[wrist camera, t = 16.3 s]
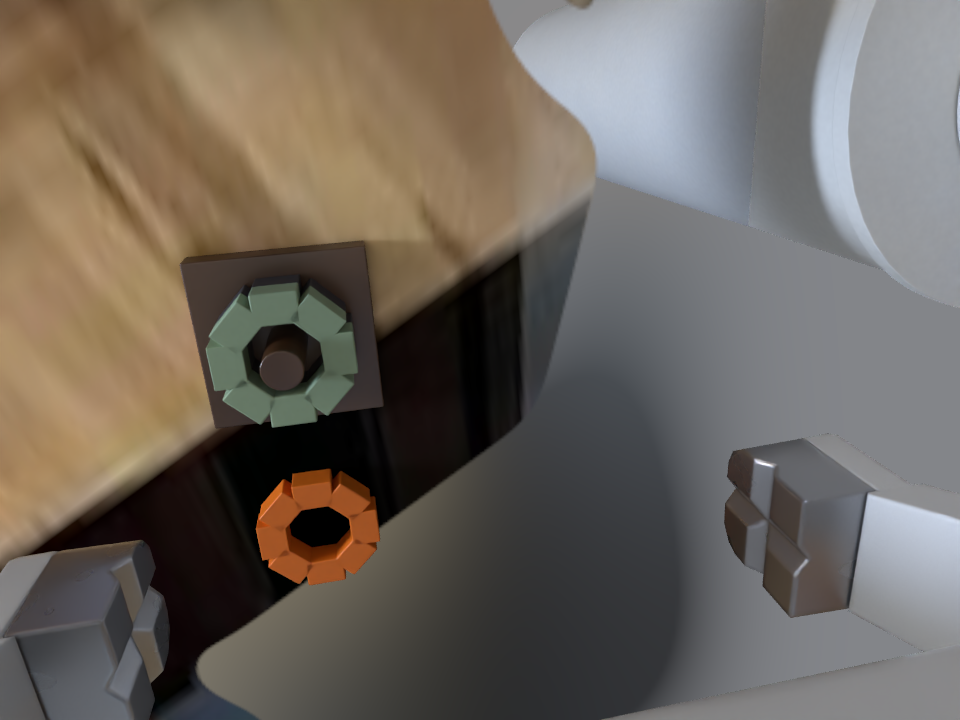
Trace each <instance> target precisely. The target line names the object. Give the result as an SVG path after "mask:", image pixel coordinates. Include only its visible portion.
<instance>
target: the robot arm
mask: <svg viewBox="0 0 960 720" xmlns="http://www.w3.org/2000/svg"><path fill="white" fill-rule="evenodd" d="M957 128H958V137H959V143H960V89H959V96H958V105H957ZM727 477H728V478H729V480H730V481H731V482H732V484H733V485H734V486H735V488H736V489H735V490H734V492H733V493H732V495H731V496H730V497H729V499H728V500H727V502H726V503H725V520H724V523H725V528H726V532H727V536H728V540H729V543H730V545H731V547H732V549H733V551H734V553H735V554H736V555H737V557H738V558H739V559H740V560H741V561H742V563H743V564H744V565H745V566H747V567H749V568H751V569H754V570H756V571H758V572H760V573H763V574H764V575H763V587H764V588H765V589H766V591H767V592H768V593H769V594H770V595H771V596H772V597H773V598H774V600H775V601H776V602H777V603H778V604H779V605H780V606H781V608H782V609H783V610H784V611H785V612H786V613H787V614H788V616H789V617H790V618H793V617H799V616H805V615H810V614H817V613H823V612H829V611H835V610H841V609H847V608H849V612H851V613H853V614H855V615H857V616H858V617H860V618H862V619H864V620H866V621H868V622H869V623H871V624H873V625H875V626H877V627H879V628H881V629H882V630H884V631H886V632H888V633H890V634H892V635H893V636H895V637H897V638H899V639H901V640H903V641H904V642H906V643H908V644H910V645H912V646H914V647H916V648H917V649H919V650H921V651H923V652H920V653H916V654H911V655H906V656H901V657H897V658H892V659H887V660H882V661H878V662H873V663H868V664H864V665H859V666H854V667H849V668H844V669H840V670H835V671H830V672H825V673H821V674H816V675H811V676H806V677H802V678H797V679H792V680H788V681H782V682H778V683H773V684H768V685H764V686H759V687H754V688H750V689H745V690H740V691H735V692H730V693H725V694H721V695H716V696H711V697H706V698H702V699H697V700H692V701H687V702H683V703H678V704H673V705H668V706H664V707H659V708H654V709H650V710H645V711H640V712H635V713H631V714H626V715H621V716H617V717H612V718H607V719H602V720H960V494H959V493H955V492H951V491H947V490H944V489H940V488H936V487H933V486H929V485H925V484H916V485H911V484H910V483H908V482H906V481H905V480H904V479H902V478H901V477H899V476H898V475H896V474H895V473H893V472H892V471H890V470H889V469H887V468H886V467H884V466H883V465H881V464H880V463H878V462H877V461H875V460H874V459H872V458H871V457H869V456H868V455H866V454H865V453H863V452H862V451H860V450H859V449H858V448H856V447H854V446H853V445H852V444H850V443H848V442H847V441H845V440H844V439H843V438H841V437H839V436H838V435H833V434H828V433H827V434H822V435H817V436H812V437H806V438H802V439H797V440H792V441H786V442H780V443H775V444H769V445H764V446H759V447H753V448H747V449H742V450H737V451H733V453H732V455H731V458H730V460H729V465H728V475H727ZM155 568H156V567H155V564H154V561H153V557H152V554H151V551H150V548H149V546H148V545H147V544H146V543H145V542H144V541H143V540H139V541H132V542H124V543H117V544H109V545H102V546H94V547H87V548H79V549H72V550H64V551H60V552H56V551H54V552H48V553H42V554H36V555H30V556H24V557H19V558H16V559H13V560H11V561H9V562H8V563H7V565H6V566H5V568H4V569H3V570H2V572H1V573H0V720H149V717H150V713H151V710H152V707H153V703H154V700H155V698H154V695H153V691H152V688H151V684H150V683H151V682H152V681H153V680H154V679H155V678H156V677H157V676H158V675H159V674H161V673H162V672H163V670H164V666H165V663H166V659H167V655H168V648H169V632H170V629H169V620H168V612H167V608H166V604H165V600H164V596H163V595H161V594H160V593H159V592H157V591H156V590H155V589H153V588H152V587H150V586H149V585H150V582H151V579H152V577H153V574H154V571H155Z"/></svg>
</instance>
